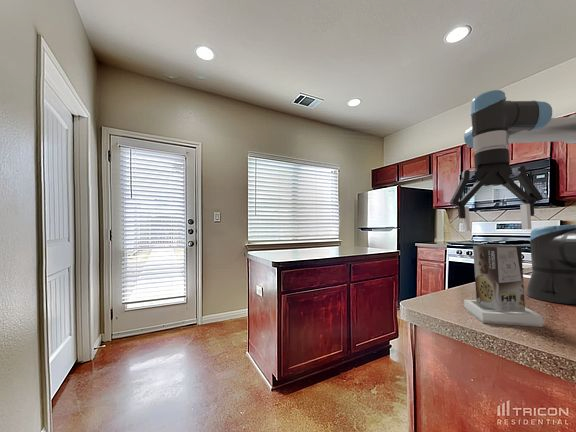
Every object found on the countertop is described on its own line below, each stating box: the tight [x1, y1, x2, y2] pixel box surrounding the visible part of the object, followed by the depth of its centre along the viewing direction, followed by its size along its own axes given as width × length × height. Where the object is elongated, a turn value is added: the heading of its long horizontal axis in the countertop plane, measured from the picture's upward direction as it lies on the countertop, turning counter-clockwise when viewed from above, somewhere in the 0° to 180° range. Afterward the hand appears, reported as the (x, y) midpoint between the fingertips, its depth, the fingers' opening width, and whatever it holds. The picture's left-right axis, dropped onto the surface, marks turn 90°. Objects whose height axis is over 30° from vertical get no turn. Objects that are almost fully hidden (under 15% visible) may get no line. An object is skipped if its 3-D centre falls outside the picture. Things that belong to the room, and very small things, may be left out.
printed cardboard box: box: [472, 244, 526, 312], centre depth 70 cm, size 9×6×16 cm
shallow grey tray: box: [463, 299, 544, 328], centre depth 69 cm, size 12×12×2 cm
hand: (495, 230), depth 70 cm, fingers open, 13 cm apart
